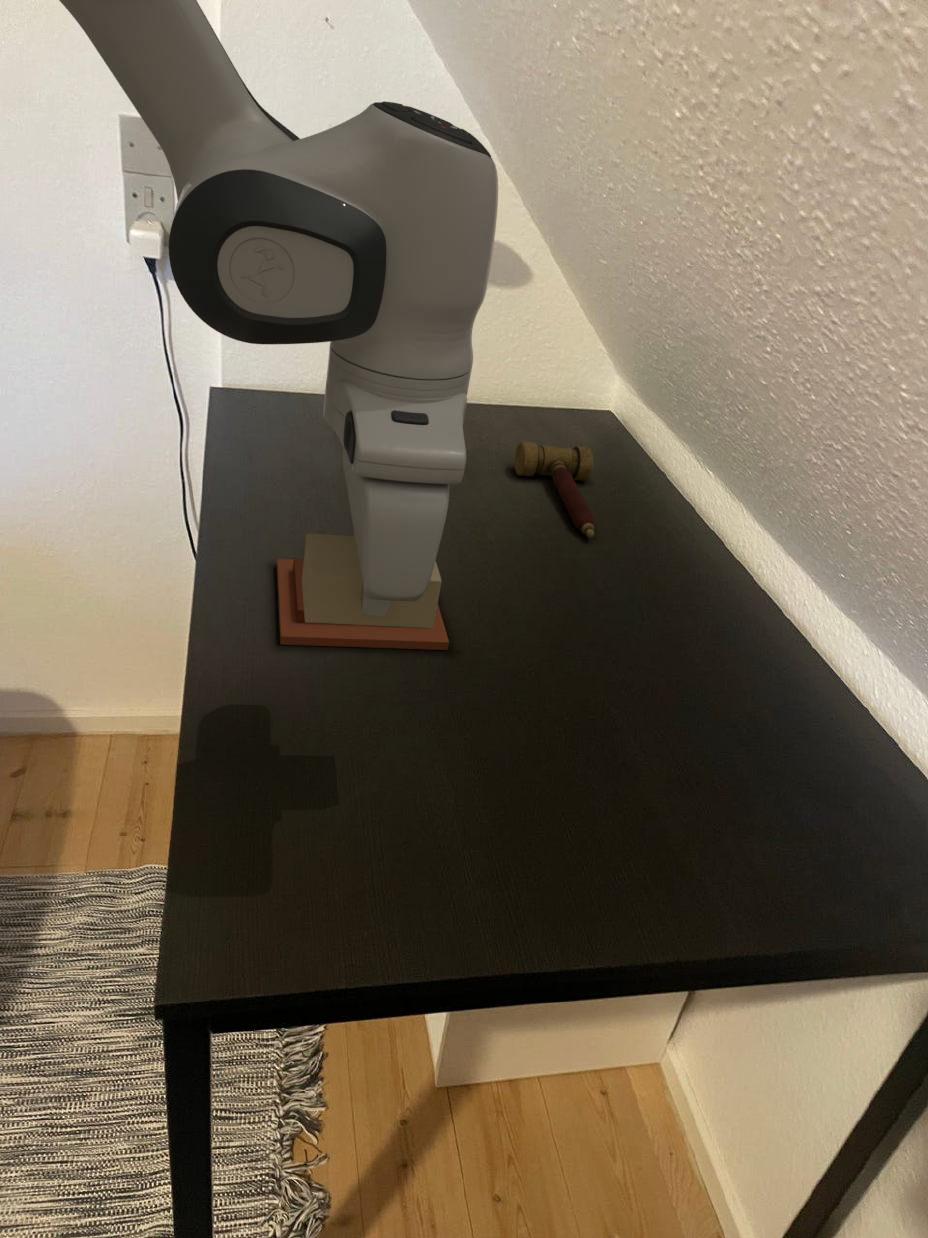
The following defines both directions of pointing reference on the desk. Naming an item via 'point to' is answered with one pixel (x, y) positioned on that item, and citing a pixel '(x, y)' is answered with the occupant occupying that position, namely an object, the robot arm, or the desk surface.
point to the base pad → (343, 634)
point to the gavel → (561, 476)
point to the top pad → (354, 588)
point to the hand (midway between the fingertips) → (368, 583)
